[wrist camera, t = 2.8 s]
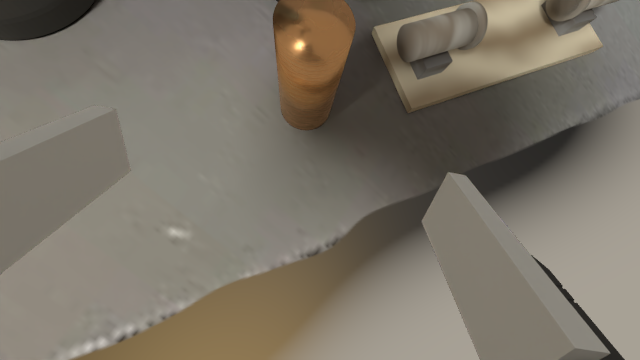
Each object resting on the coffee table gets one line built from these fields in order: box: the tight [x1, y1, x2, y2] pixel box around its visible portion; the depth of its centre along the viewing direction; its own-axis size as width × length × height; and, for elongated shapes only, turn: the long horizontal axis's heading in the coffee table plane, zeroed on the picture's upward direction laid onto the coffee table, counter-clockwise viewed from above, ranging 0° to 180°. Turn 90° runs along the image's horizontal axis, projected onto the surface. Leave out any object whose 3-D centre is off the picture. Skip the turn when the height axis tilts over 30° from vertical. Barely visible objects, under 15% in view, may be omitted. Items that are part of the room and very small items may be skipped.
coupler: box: [273, 0, 355, 130], centre depth 21 cm, size 5×5×11 cm
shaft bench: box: [371, 0, 618, 113], centre depth 27 cm, size 10×26×6 cm, turn 111°
